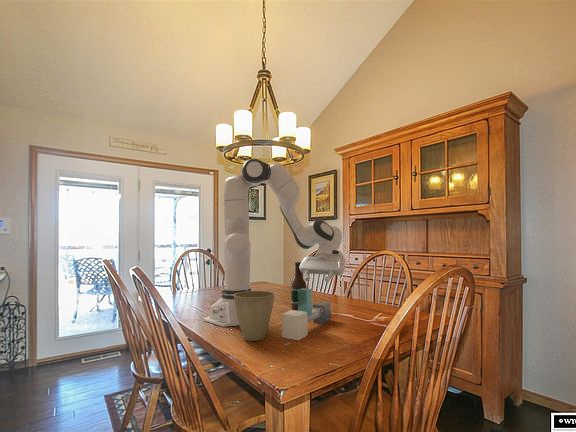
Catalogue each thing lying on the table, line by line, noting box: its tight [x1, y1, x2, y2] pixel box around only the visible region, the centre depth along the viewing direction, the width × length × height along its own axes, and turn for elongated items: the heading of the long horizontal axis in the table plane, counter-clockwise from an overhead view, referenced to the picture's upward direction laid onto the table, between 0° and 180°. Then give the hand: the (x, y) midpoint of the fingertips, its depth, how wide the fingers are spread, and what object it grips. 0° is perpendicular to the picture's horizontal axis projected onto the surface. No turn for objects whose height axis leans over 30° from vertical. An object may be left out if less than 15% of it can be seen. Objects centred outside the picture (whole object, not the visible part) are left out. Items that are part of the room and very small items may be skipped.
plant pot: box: [234, 290, 275, 342], centre depth 117 cm, size 15×15×16 cm
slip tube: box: [298, 288, 323, 323], centre depth 126 cm, size 4×22×12 cm, turn 148°
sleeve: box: [312, 301, 332, 325], centre depth 138 cm, size 5×7×8 cm
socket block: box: [281, 309, 309, 341], centre depth 118 cm, size 7×7×8 cm
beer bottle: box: [290, 261, 308, 311], centre depth 158 cm, size 8×8×24 cm
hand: (316, 280), depth 135 cm, fingers open, 8 cm apart
